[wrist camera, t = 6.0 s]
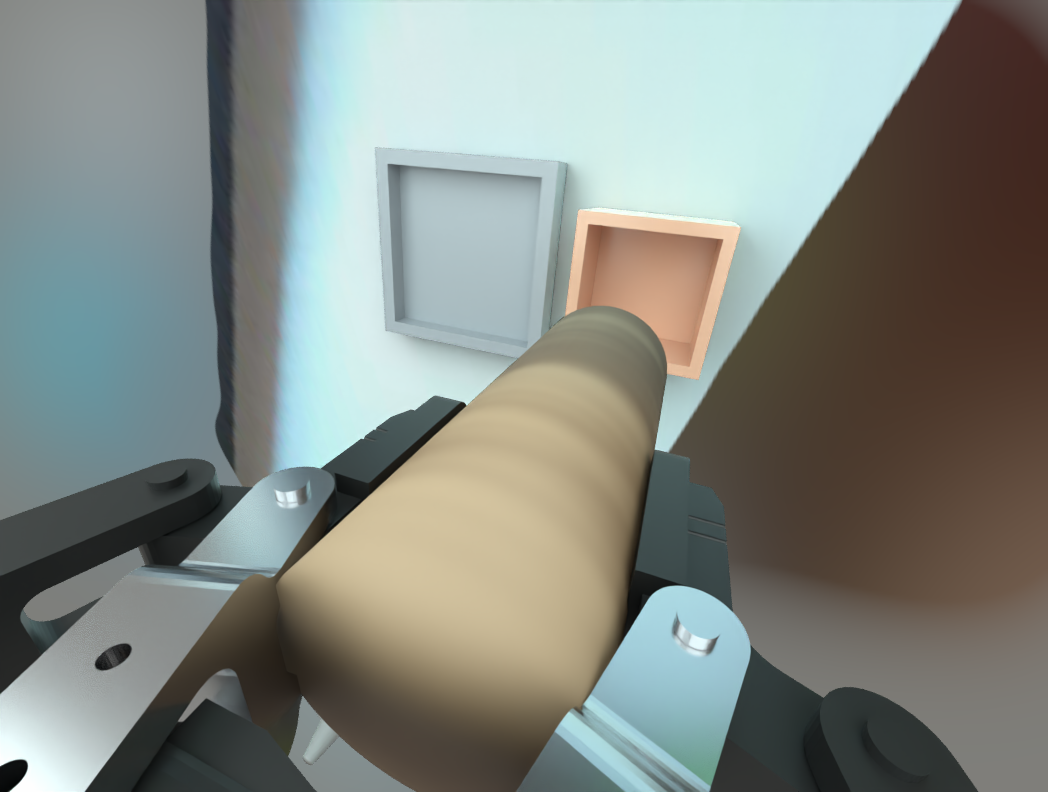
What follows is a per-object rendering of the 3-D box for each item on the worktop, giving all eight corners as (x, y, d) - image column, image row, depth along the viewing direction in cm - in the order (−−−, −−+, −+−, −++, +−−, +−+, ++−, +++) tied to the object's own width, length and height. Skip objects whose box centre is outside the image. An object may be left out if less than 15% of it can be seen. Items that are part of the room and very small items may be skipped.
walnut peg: (546, 295, 15) (237, 505, 5) (681, 318, 14) (638, 653, 4) (535, 410, 17) (296, 729, 7) (652, 438, 16) (571, 872, 6)
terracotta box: (597, 207, 31) (578, 209, 26) (733, 221, 29) (741, 227, 23) (580, 329, 35) (560, 352, 30) (698, 350, 33) (698, 380, 27)
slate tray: (393, 149, 34) (374, 147, 32) (567, 163, 31) (558, 161, 29) (400, 324, 40) (385, 330, 39) (546, 353, 37) (537, 362, 35)
